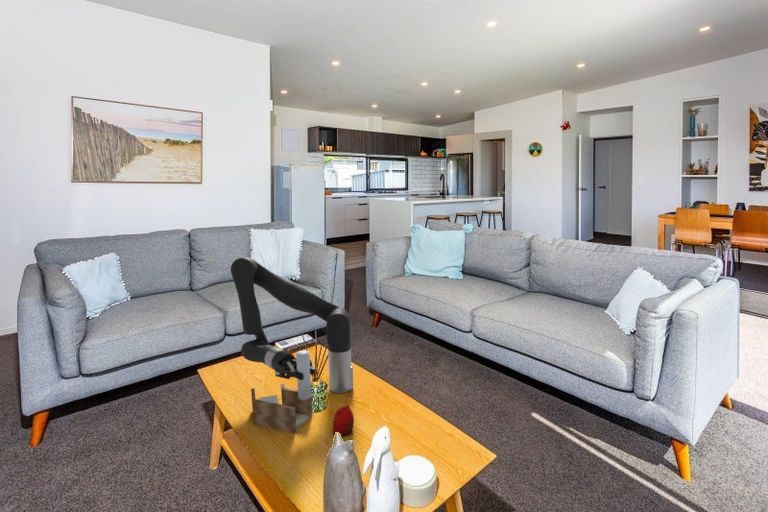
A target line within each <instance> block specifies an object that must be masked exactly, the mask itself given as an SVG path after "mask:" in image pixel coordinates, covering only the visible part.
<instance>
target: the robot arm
mask: <svg viewBox="0 0 768 512" xmlns="http://www.w3.org/2000/svg"><path fill="white" fill-rule="evenodd" d="M230 274H231V277H232V280H233V282H234V286H235V289H236V292H237V296H238V297H237V298H238V302H239V308H240V315H241V323H242V324H241V325H242V330H243V333H244V334H245V335H247V336H252V335H253V336H254V337H255V339H251V340H248V341H245V343H244V342H243V344H242V345H241V347H240V352H241V353H240V354H242V355H241V356H242V357H243V358H244V359H245V360H247V361H249V362H254V363H262V364H264V365H266V366H268V367H269V368H270V369H272V370H274V374H275V377H277V378H281V379H284V380H285V379H286V380H290V379H291V378H293V379H294V378H295V379H299V380H303V379H304V377H303V373H301V372H298V371H297V361H296V356H294V355H293V353H290V352H288V351H286V350H285V349H281V348H278V347H276V346H273V345H271V344H270V342H269V340H268V338H267V335H266V333H265V331H264V328H263V325H262V318H261V311H260V308H259V305H258V300H257V297H256V294H255V285H256V286H258V287H260V288H262V289H264V291H266V292H267V293H268V294H270V296H272V297H273V298H275V300H277V301H279V302H280V303H281V304H283V305H285V306H287V307H288V308H291V309H293V310H295V311H297V312H301V313H302V312H303V313H306V314H310V315H311V314H312V315H314V316H316V317H318V318H319V319H321V320H323V321H325V322H326V344H327V349H328V350H327V353H328V355H327V356H328V358H327V359H328V380H329V381H328V385H329V386H328V387H329V390H330V392H333V393H335V394H342V393H344V394H345V393H347V392H349V391H351V390H354V368H353V366H352V341H351V314H350V313H349V312H348V310H347V309H345V308H343V307H341V306H339V305H336V304H333V303H331V302H330V301H327V300H325V299H324V298H321V297H320V296H318V295H317V294H315V293H314V292H311V291H310V290H308V289H306V288H304V287H303V286H301V285H299V284H297V283H296V282H294V281H293V280H290V279H288V278H285V277H283V276H282V275H279V274H277V273H275V272H273V271H272V270H269V269H267V268H266V267H265V266H263V265H262V264H261V263H259V262H257V260H255V259H253V258H252V257H248V256H244V257H238V258H236V259H235V260H233V262H232V263H231V265H230ZM310 375H312V376H315V375H316V368H315V367H313V361H312V360H310Z"/></svg>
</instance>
